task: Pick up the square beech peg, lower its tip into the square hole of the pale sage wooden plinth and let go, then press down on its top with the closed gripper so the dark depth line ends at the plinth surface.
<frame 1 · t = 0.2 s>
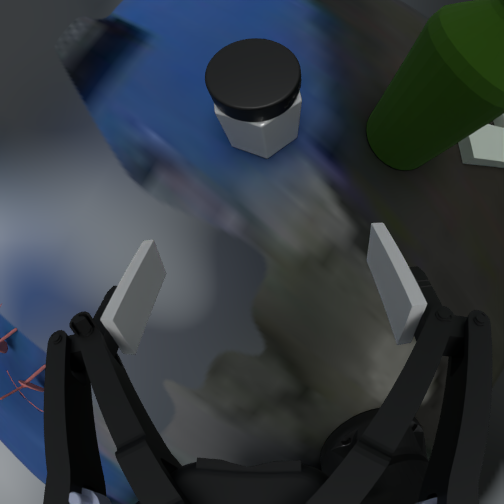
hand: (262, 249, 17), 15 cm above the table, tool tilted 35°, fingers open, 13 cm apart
plinth: (482, 117, 29), on the table
figurine: (24, 369, 37), on the table
jar: (262, 126, 33), on the table
wine bottle: (397, 138, 31), on the table
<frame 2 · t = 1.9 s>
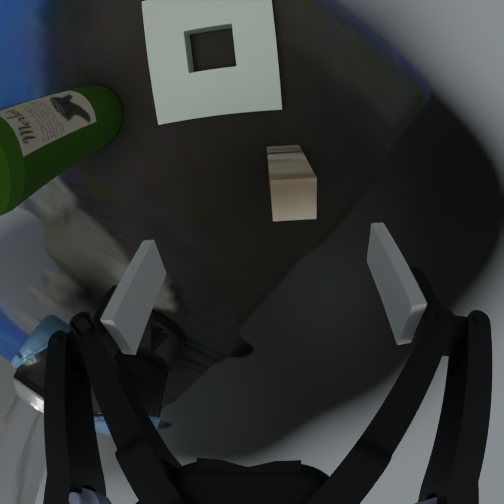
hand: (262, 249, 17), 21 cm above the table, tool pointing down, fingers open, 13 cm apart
plinth: (213, 50, 27), on the table
peg: (283, 160, 35), on the table
wine bottle: (95, 116, 31), on the table
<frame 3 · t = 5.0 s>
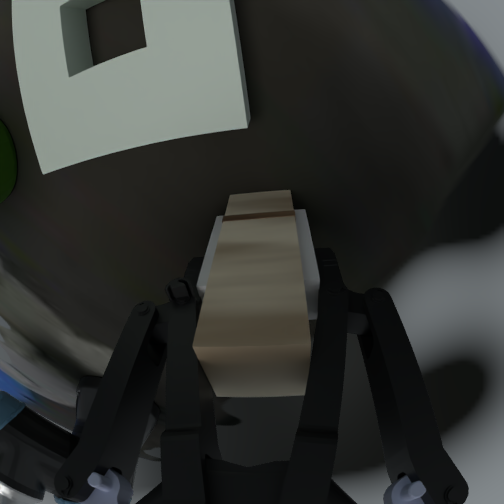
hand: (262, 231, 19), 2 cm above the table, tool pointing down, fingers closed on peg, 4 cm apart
plinth: (122, 26, 12), on the table
peg: (263, 218, 20), on the table, touching gripper
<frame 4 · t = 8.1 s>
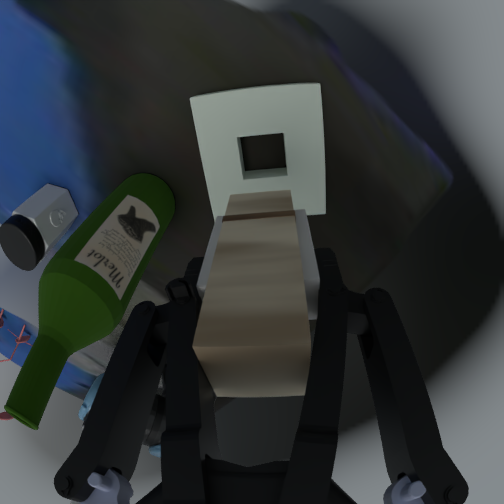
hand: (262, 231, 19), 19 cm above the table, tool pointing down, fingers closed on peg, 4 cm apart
plinth: (263, 149, 34), on the table
peg: (263, 218, 20), point 17 cm above the table, touching gripper
figurine: (16, 326, 64), on the table
jar: (58, 205, 40), on the table
wine bottle: (147, 200, 39), on the table
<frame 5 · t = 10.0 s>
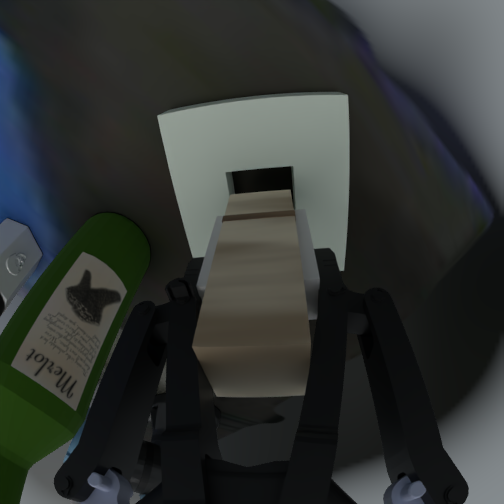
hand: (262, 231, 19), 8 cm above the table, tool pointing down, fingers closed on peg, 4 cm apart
plinth: (263, 184, 25), on the table
peg: (263, 218, 20), point 6 cm above the table, touching gripper
jar: (22, 243, 31), on the table
wine bottle: (116, 244, 30), on the table
when the fingers open (4 cm above the table, at t = 11.5 s): peg drops 2 cm, resting in plinth.
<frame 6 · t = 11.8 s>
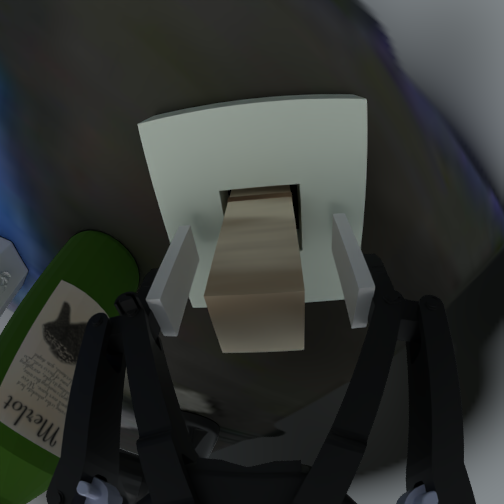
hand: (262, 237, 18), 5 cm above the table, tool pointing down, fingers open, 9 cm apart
plinth: (263, 202, 22), on the table
peg: (263, 202, 22), resting in plinth
jar: (7, 258, 28), on the table
wine bottle: (102, 264, 27), on the table
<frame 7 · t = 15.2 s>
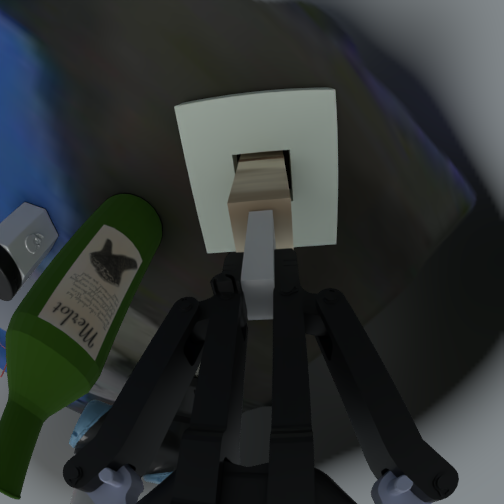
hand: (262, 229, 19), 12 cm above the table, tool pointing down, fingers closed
plinth: (264, 167, 29), on the table
peg: (263, 167, 29), resting in plinth, touching gripper
jar: (38, 226, 34), on the table
wine bottle: (130, 224, 34), on the table
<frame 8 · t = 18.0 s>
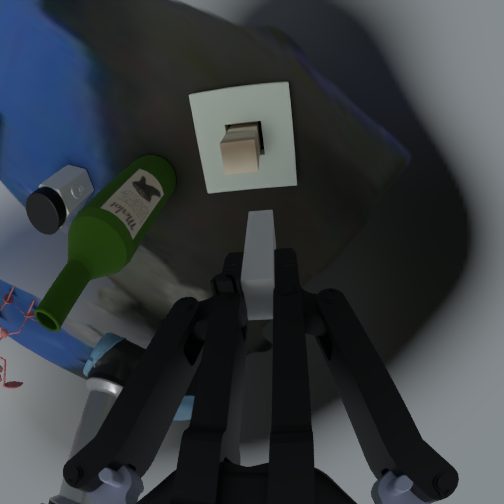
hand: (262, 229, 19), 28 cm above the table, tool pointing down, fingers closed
plinth: (246, 135, 42), on the table
peg: (246, 135, 42), resting in plinth
figurine: (25, 303, 73), on the table
jar: (76, 183, 48), on the table
wine bottle: (153, 177, 47), on the table
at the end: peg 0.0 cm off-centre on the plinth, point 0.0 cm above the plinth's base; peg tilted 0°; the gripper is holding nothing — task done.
